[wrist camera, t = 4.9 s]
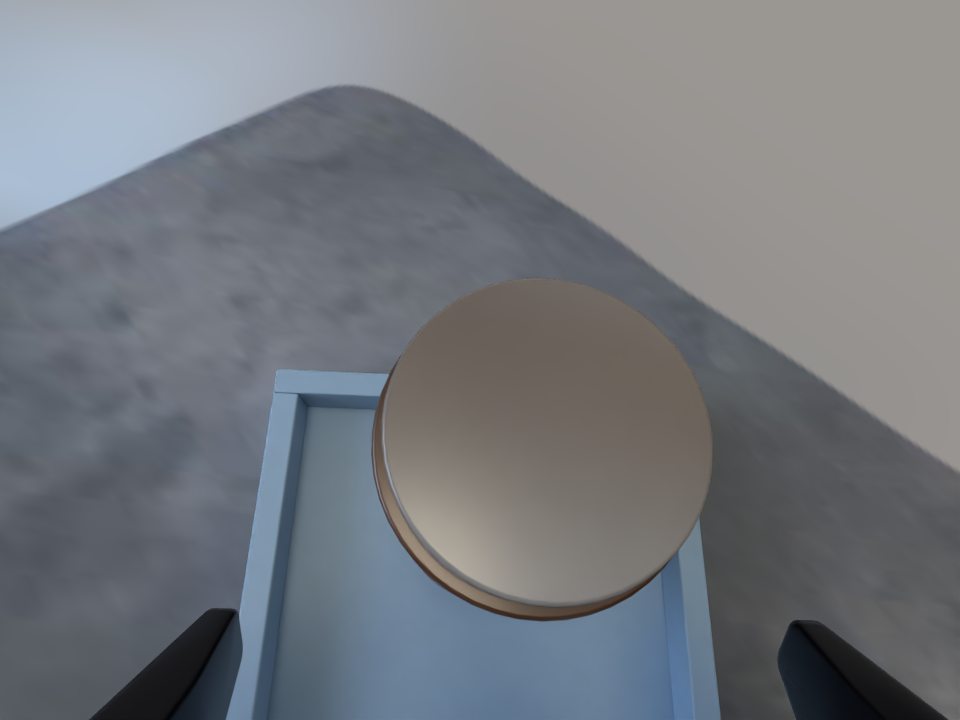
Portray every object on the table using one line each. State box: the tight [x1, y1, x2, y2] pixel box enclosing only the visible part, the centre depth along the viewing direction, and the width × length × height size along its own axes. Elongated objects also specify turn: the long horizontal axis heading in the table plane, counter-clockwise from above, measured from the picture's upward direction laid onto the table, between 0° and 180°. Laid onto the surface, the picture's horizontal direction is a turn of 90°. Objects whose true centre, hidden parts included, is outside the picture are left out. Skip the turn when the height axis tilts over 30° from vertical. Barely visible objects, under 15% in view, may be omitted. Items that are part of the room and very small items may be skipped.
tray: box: [226, 369, 721, 720], centre depth 18 cm, size 16×14×2 cm
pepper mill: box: [371, 278, 713, 622], centre depth 13 cm, size 5×5×12 cm
